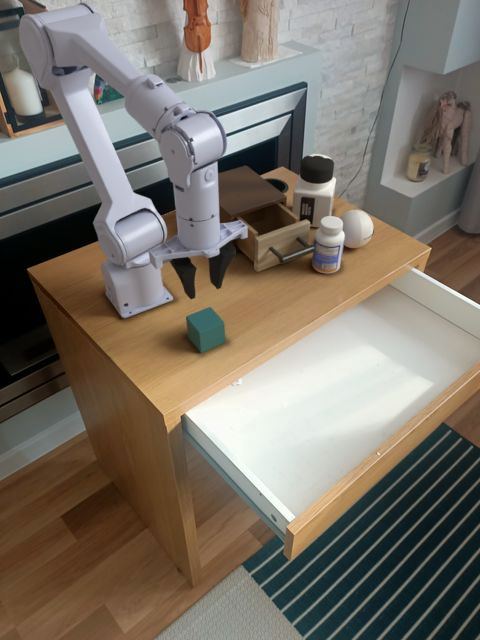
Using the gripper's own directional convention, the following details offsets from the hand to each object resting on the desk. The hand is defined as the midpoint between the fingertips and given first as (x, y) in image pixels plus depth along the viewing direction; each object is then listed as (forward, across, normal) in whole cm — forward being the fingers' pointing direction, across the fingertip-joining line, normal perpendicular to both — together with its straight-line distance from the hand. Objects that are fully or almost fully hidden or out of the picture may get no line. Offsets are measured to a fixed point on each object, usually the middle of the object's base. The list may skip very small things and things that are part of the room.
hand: (203, 290), depth 83 cm
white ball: (+11, +39, +8) cm, 41 cm away
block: (+10, 0, 0) cm, 10 cm away
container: (+11, +37, +20) cm, 44 cm away
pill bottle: (+11, +29, +6) cm, 31 cm away
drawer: (+10, +22, +14) cm, 28 cm away
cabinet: (+10, +22, +26) cm, 35 cm away
